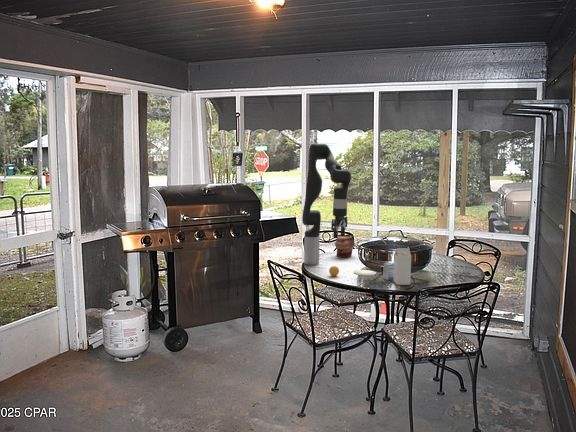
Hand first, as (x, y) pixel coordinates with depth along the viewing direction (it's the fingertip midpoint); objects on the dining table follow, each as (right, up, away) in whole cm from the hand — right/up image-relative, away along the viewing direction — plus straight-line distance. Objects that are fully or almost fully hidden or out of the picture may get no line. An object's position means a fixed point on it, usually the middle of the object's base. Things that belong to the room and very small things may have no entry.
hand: (339, 236), depth 270 cm
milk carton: (+33, -25, -3) cm, 42 cm away
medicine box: (+29, -24, +7) cm, 38 cm away
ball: (-2, -20, +11) cm, 22 cm away
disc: (+17, -22, +19) cm, 33 cm away
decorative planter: (+10, -16, +65) cm, 67 cm away
